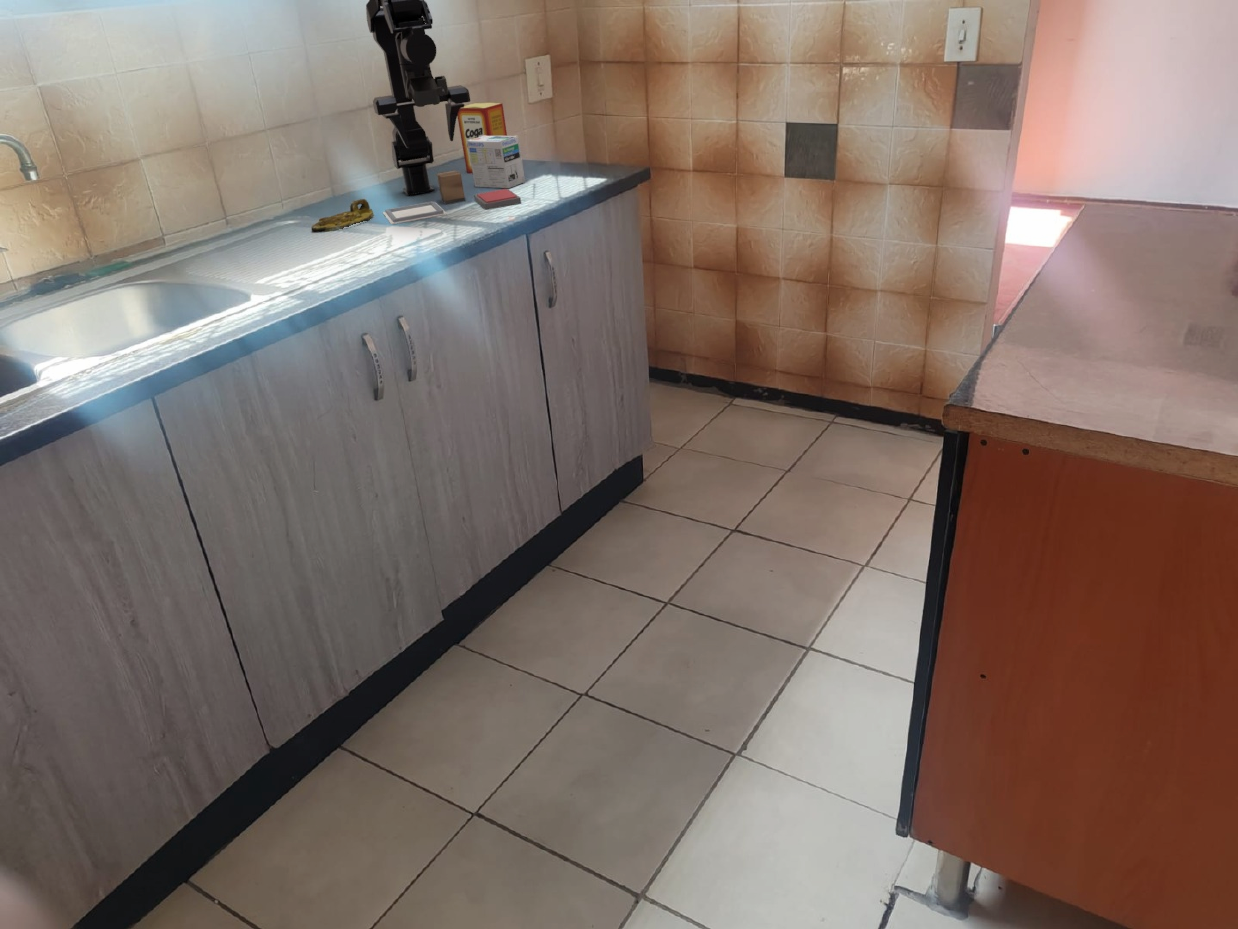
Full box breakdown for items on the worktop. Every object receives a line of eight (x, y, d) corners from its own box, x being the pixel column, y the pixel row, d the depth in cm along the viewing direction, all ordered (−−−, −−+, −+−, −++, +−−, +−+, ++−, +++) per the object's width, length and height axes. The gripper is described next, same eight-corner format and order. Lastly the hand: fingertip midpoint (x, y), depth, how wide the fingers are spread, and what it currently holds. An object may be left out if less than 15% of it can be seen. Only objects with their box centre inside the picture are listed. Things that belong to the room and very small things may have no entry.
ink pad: (474, 200, 207) (473, 193, 207) (509, 194, 210) (508, 187, 209) (485, 209, 199) (484, 202, 198) (521, 203, 201) (520, 196, 200)
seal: (327, 241, 193) (385, 222, 203) (323, 219, 191) (382, 200, 200) (301, 231, 199) (359, 213, 208) (297, 210, 196) (356, 192, 205)
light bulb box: (526, 182, 219) (519, 134, 214) (508, 189, 215) (501, 140, 209) (491, 180, 225) (484, 134, 220) (473, 187, 220) (465, 140, 215)
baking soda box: (467, 172, 235) (455, 106, 228) (484, 166, 240) (473, 101, 232) (495, 174, 230) (484, 106, 223) (511, 168, 235) (502, 101, 227)
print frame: (382, 213, 205) (382, 209, 205) (436, 203, 208) (435, 199, 208) (391, 224, 195) (390, 220, 195) (447, 214, 198) (446, 210, 198)
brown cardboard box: (441, 200, 211) (436, 173, 208) (461, 197, 212) (456, 170, 209) (445, 204, 207) (440, 177, 204) (465, 200, 208) (460, 173, 205)
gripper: (373, 72, 174) (390, 157, 182) (469, 58, 179) (482, 142, 187) (365, 67, 183) (382, 149, 191) (457, 55, 188) (470, 135, 196)
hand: (429, 144), depth 191 cm, fingers open, 9 cm apart
